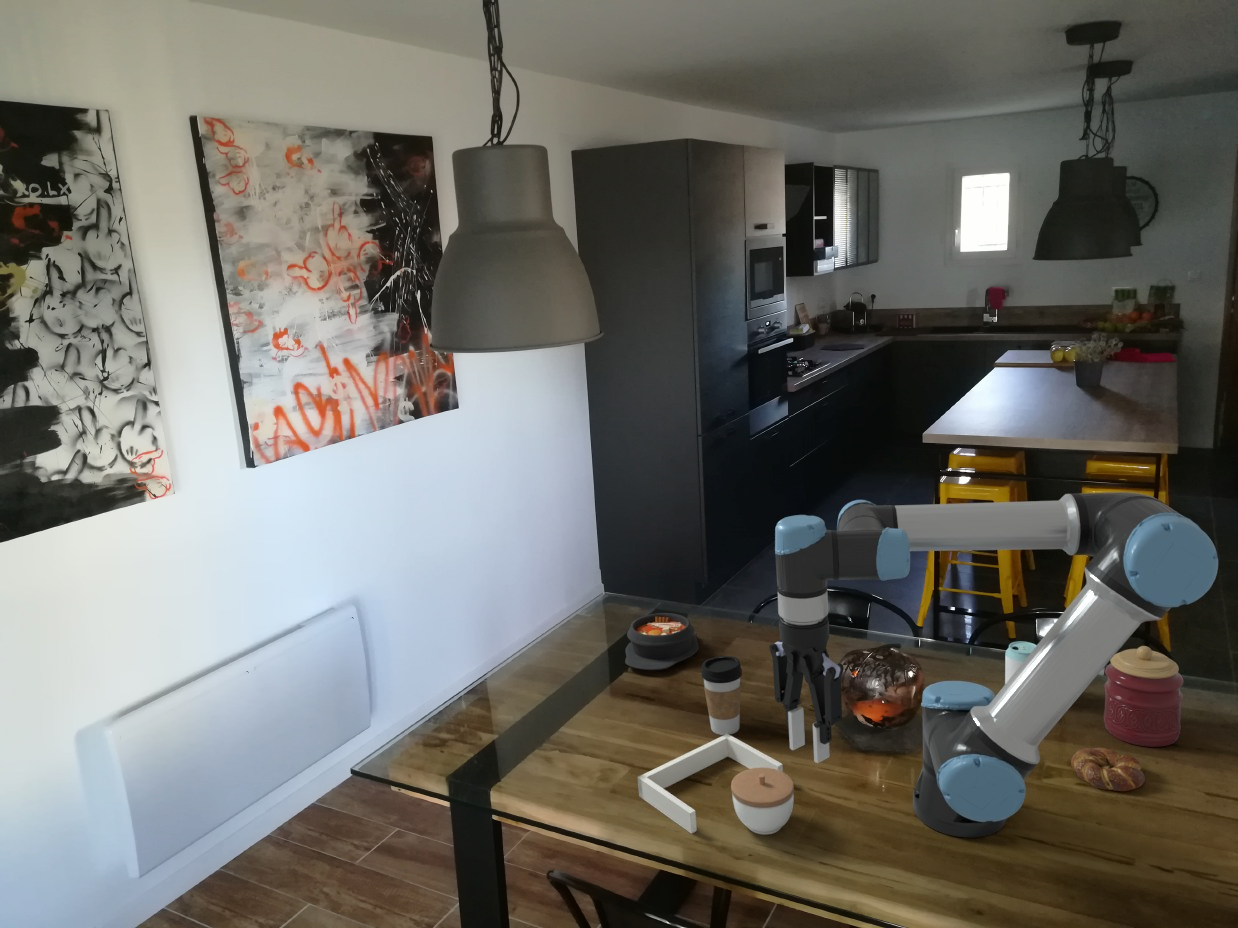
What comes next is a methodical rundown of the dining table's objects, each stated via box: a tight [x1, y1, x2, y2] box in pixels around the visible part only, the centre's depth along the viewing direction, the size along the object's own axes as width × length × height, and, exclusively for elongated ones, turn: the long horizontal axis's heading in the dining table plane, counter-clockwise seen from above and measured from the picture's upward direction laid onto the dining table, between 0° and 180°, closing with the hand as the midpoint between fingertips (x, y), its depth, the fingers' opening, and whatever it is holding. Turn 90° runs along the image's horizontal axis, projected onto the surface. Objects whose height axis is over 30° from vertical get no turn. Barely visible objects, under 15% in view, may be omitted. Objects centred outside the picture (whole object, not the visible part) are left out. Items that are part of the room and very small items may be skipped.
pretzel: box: [1070, 747, 1146, 792], centre depth 161 cm, size 12×11×4 cm
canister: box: [1103, 645, 1184, 748], centre depth 173 cm, size 13×13×18 cm
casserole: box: [624, 612, 700, 671], centre depth 226 cm, size 25×19×8 cm
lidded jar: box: [730, 768, 795, 836], centre depth 155 cm, size 11×11×9 cm
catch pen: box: [637, 734, 784, 835], centre depth 167 cm, size 15×22×4 cm
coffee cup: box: [700, 655, 743, 736], centre depth 188 cm, size 8×8×15 cm
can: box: [1004, 640, 1038, 685], centre depth 189 cm, size 7×7×12 cm
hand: (809, 752), depth 143 cm, fingers open, 4 cm apart
